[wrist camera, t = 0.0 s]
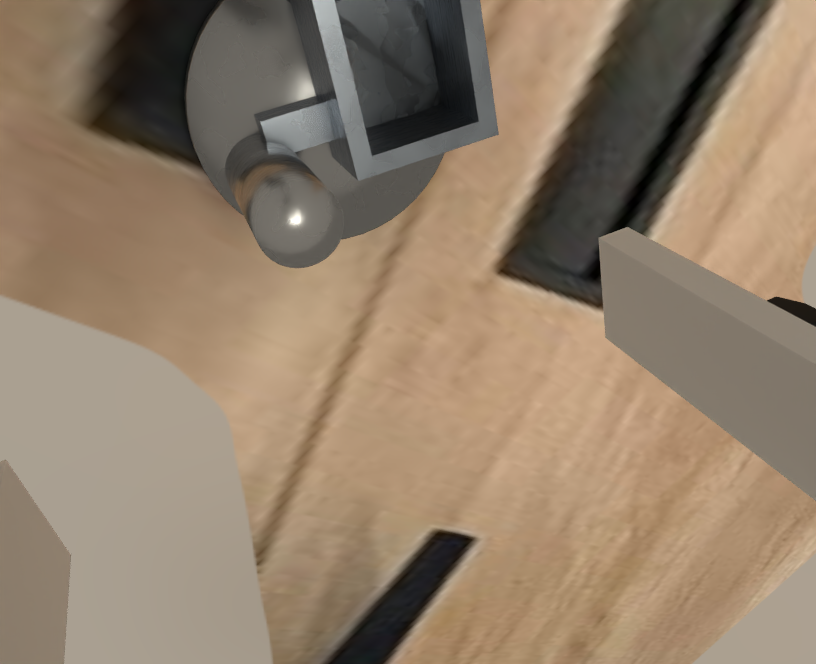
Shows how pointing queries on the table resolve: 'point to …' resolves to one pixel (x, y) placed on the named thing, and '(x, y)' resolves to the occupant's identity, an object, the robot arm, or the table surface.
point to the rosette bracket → (333, 111)
